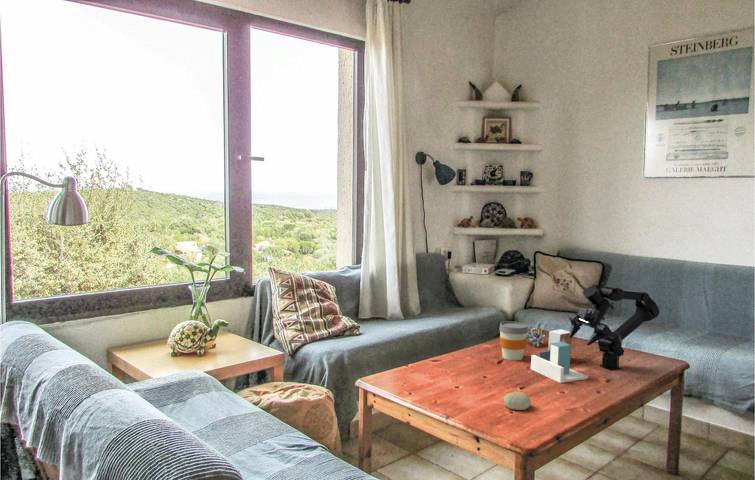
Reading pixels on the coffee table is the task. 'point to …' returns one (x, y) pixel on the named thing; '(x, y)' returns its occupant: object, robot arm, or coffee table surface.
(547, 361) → the shelf
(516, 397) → the sea urchin shell
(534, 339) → the passion flower
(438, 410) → the coffee table surface
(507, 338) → the reusable coffee cup
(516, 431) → the coffee table surface
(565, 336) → the small box
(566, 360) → the teal rectangular block
